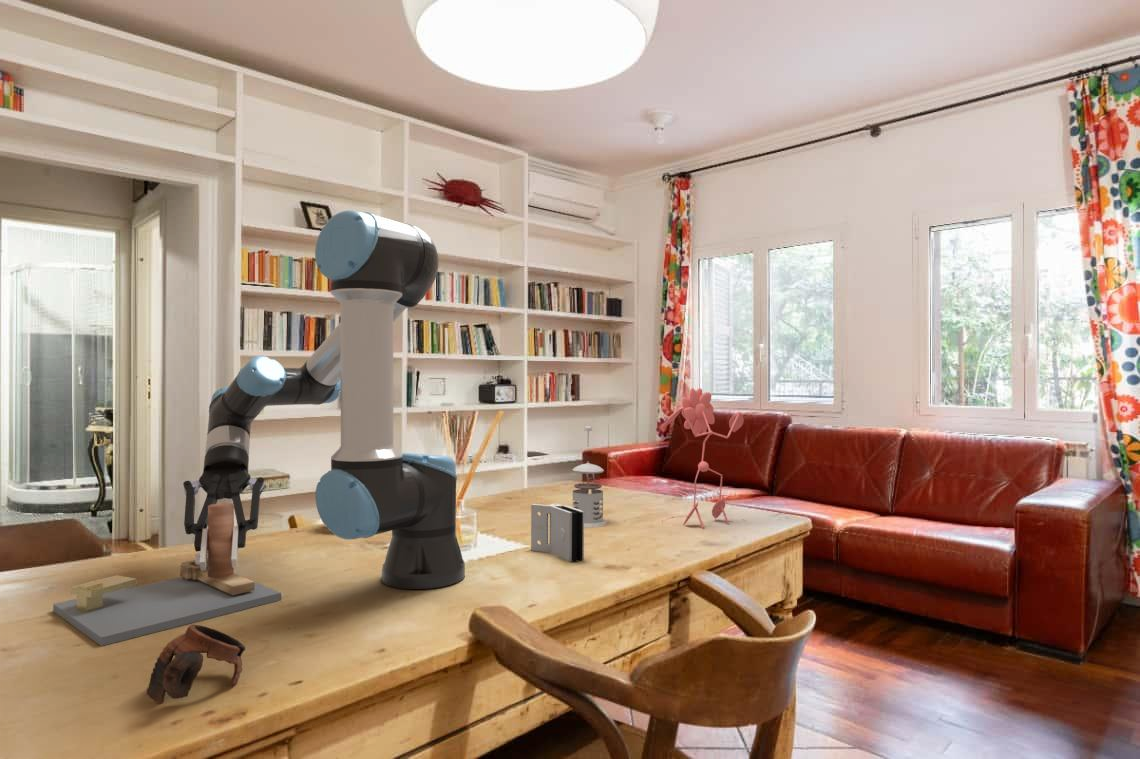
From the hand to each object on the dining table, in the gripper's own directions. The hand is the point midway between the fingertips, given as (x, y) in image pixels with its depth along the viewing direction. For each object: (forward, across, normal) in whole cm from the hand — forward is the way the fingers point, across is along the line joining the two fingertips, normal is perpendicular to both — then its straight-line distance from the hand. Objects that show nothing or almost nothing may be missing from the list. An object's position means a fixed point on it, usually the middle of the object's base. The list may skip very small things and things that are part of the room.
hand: (218, 564), depth 116 cm
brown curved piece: (+30, 0, +22) cm, 37 cm away
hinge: (0, -63, -9) cm, 64 cm away
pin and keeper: (+1, +11, -5) cm, 12 cm away
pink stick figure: (-13, -109, -23) cm, 112 cm away
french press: (-20, -82, -29) cm, 90 cm away
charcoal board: (+5, +7, -3) cm, 9 cm away
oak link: (-1, +1, -6) cm, 6 cm away
